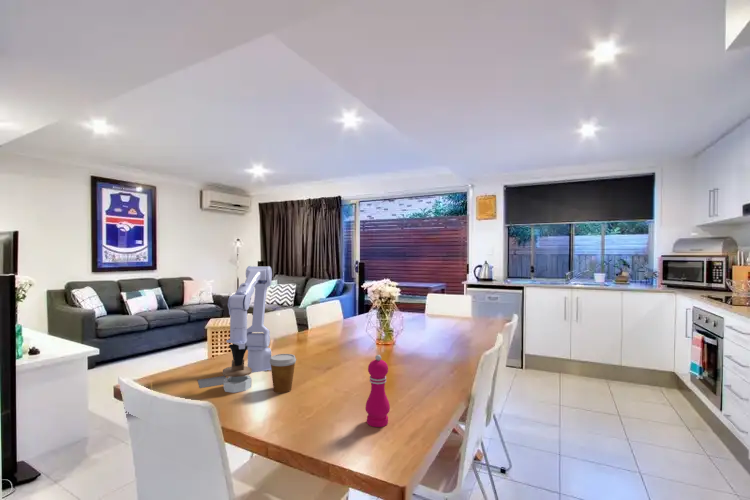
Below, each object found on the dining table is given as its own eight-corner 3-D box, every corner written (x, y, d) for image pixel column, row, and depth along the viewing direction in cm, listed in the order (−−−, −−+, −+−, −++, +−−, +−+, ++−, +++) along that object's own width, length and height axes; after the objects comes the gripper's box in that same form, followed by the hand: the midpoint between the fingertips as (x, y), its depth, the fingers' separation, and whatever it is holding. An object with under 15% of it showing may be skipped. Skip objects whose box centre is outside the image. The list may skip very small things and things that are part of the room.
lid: (248, 367, 141) (249, 355, 141) (254, 375, 133) (255, 362, 133) (220, 370, 136) (221, 357, 136) (224, 378, 128) (225, 364, 128)
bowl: (247, 382, 141) (247, 373, 141) (253, 390, 133) (253, 380, 133) (222, 386, 136) (222, 377, 136) (226, 395, 128) (226, 385, 128)
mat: (224, 376, 147) (224, 375, 147) (229, 384, 139) (229, 383, 139) (197, 380, 142) (197, 379, 142) (199, 389, 134) (199, 388, 134)
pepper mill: (364, 417, 112) (365, 351, 112) (388, 416, 113) (388, 351, 113) (366, 428, 105) (366, 358, 105) (391, 427, 105) (391, 358, 106)
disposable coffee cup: (300, 387, 137) (301, 354, 137) (286, 396, 128) (287, 361, 128) (278, 384, 140) (279, 352, 140) (263, 392, 131) (263, 359, 131)
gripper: (223, 324, 139) (223, 360, 139) (230, 332, 126) (229, 371, 126) (243, 323, 142) (242, 358, 142) (251, 330, 130) (250, 368, 130)
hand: (237, 364), depth 135 cm, fingers closed on lid, 2 cm apart
